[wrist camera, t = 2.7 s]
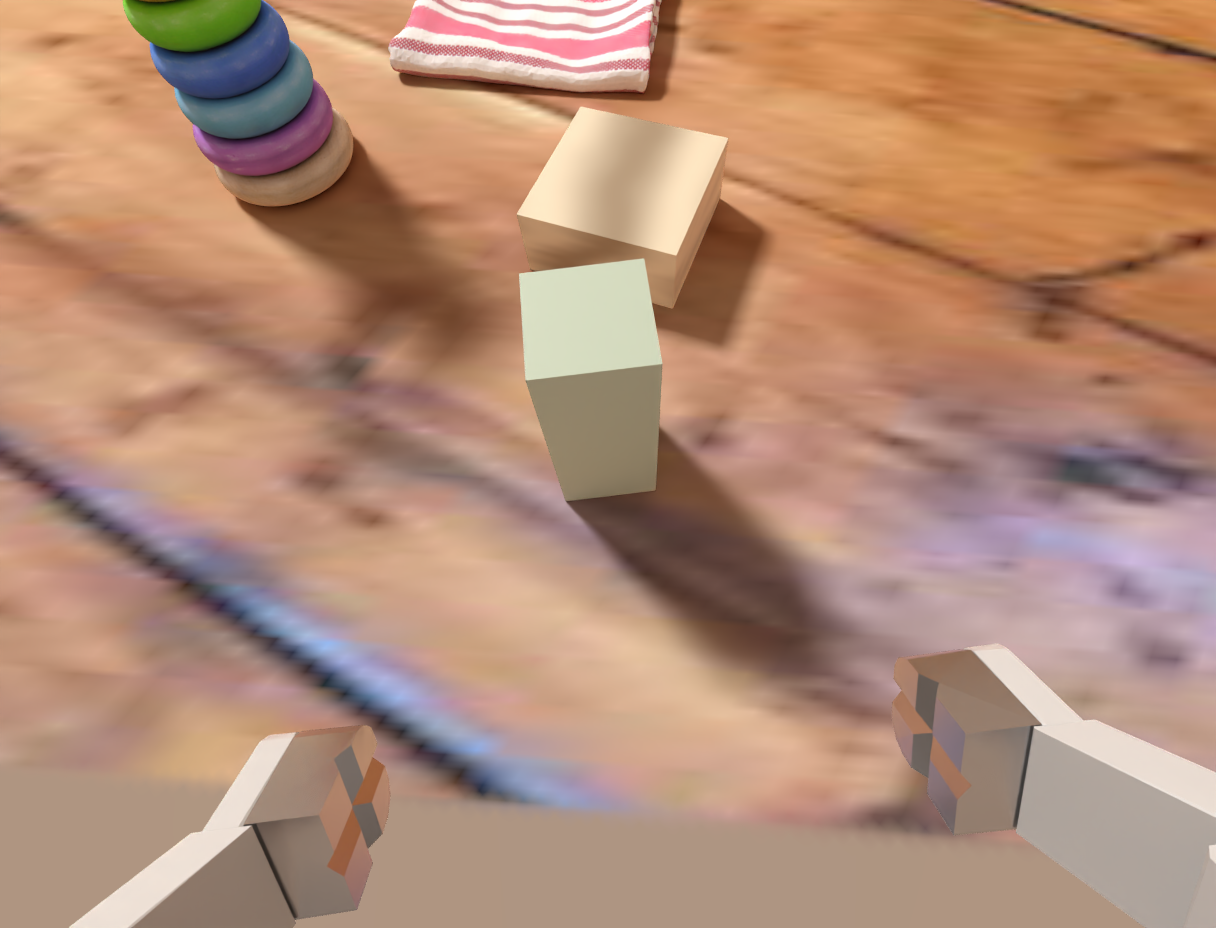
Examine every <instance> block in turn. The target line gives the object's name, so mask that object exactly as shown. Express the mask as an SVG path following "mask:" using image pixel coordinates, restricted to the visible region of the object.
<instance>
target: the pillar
mask: <svg viewBox="0 0 1216 928" xmlns="http://www.w3.org/2000/svg"><path fill="white" fill-rule="evenodd" d="M519 280H520V297H521V313H522V329H523V346H524V362H525V379H526V383H527V386H528V389H529V392H530V395H531V398H532V401H533V404H534V407H535V410H536V413H537V416H538V419H539V422H540V425H541V428H542V431H543V434H544V437H545V440H546V443H547V446H548V449H549V452H550V455H551V459H552V462H553V465H554V468H555V471H556V474H557V477H558V480H559V483H560V486H561V489H562V492H563V495H564V498H565V501H573V500H581V499H590V498H598V497H606V496H615V495H623V494H631V493H639V492H648V491H656V477H657V457H658V438H659V419H660V400H661V381H662V359H661V353H660V347H659V341H658V336H657V330H656V324H655V318H654V312H653V307H652V301H651V295H650V289H649V284H648V278H647V272H646V266H645V260H644V258H643V259H635V260H627V261H619V262H611V263H602V264H594V265H586V266H578V267H570V268H561V269H553V270H545V271H537V272H529V273H520V274H519Z"/></svg>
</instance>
